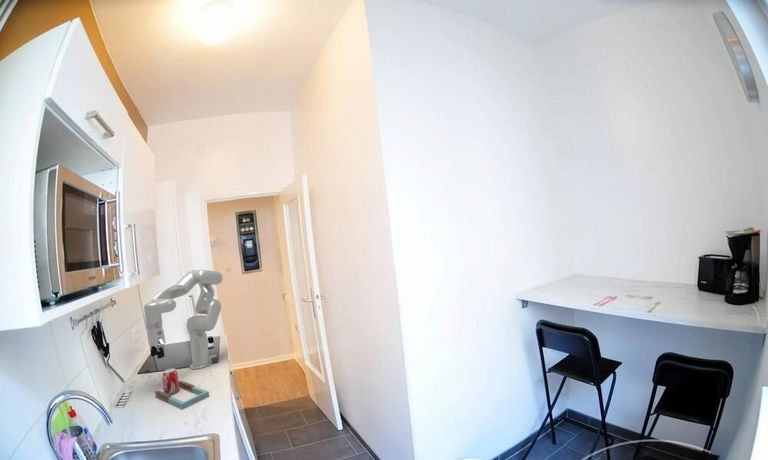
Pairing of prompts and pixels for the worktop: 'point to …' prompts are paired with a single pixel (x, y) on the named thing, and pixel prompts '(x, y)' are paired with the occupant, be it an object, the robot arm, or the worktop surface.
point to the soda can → (170, 381)
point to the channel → (165, 396)
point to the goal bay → (201, 395)
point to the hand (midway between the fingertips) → (157, 356)
